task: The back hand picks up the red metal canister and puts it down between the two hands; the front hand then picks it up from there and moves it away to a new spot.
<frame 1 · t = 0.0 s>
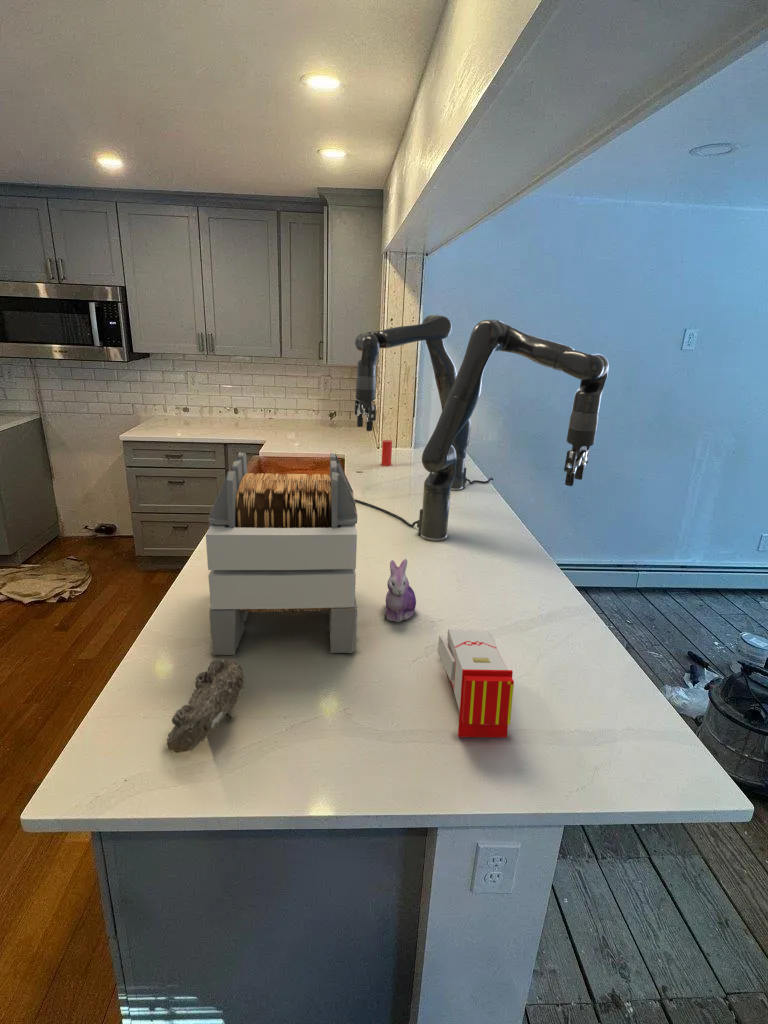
front hand: (573, 482, 165), 29 cm above the counter, tool pointing down, fingers open, 8 cm apart
back hand: (364, 428, 225), 29 cm above the counter, tool pointing down, fingers open, 8 cm apart
figurine: (399, 614, 147), on the counter
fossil: (212, 717, 108), on the counter
toy: (469, 691, 119), on the counter
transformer: (288, 617, 143), on the counter
canister: (386, 464, 287), on the counter
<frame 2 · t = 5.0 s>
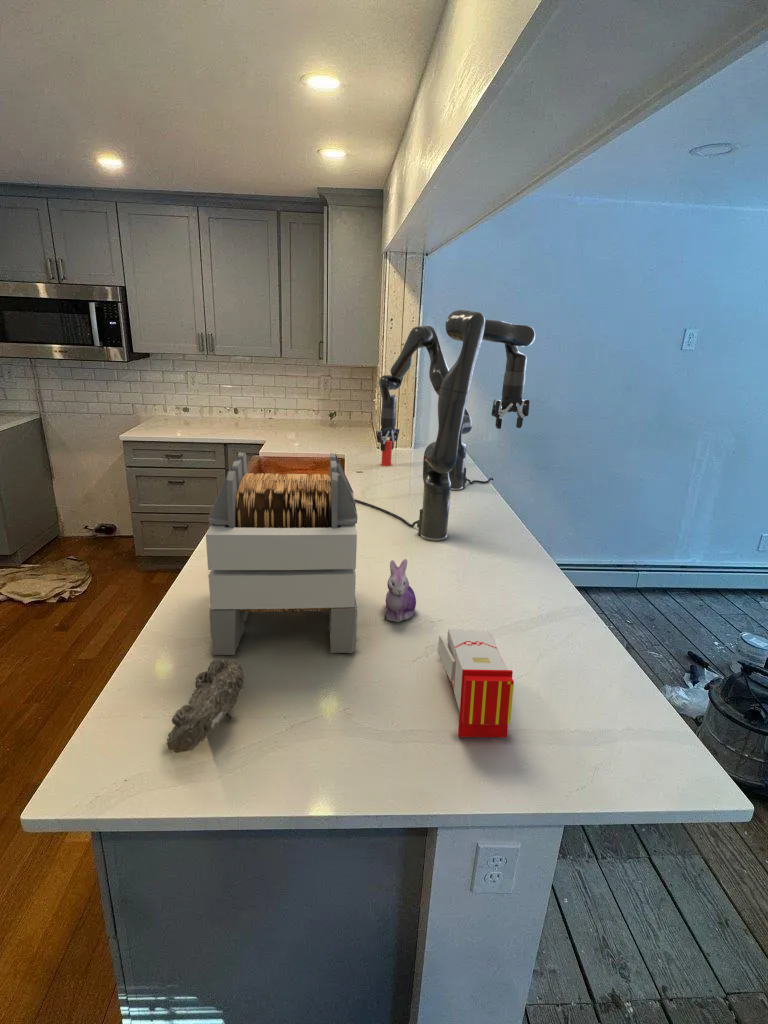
front hand: (508, 428, 209), 35 cm above the counter, tool pointing down, fingers open, 8 cm apart
back hand: (386, 450, 285), 8 cm above the counter, tool pointing down, fingers closed on canister, 5 cm apart
canister: (386, 464, 287), on the counter, touching back hand
everything else where it was.
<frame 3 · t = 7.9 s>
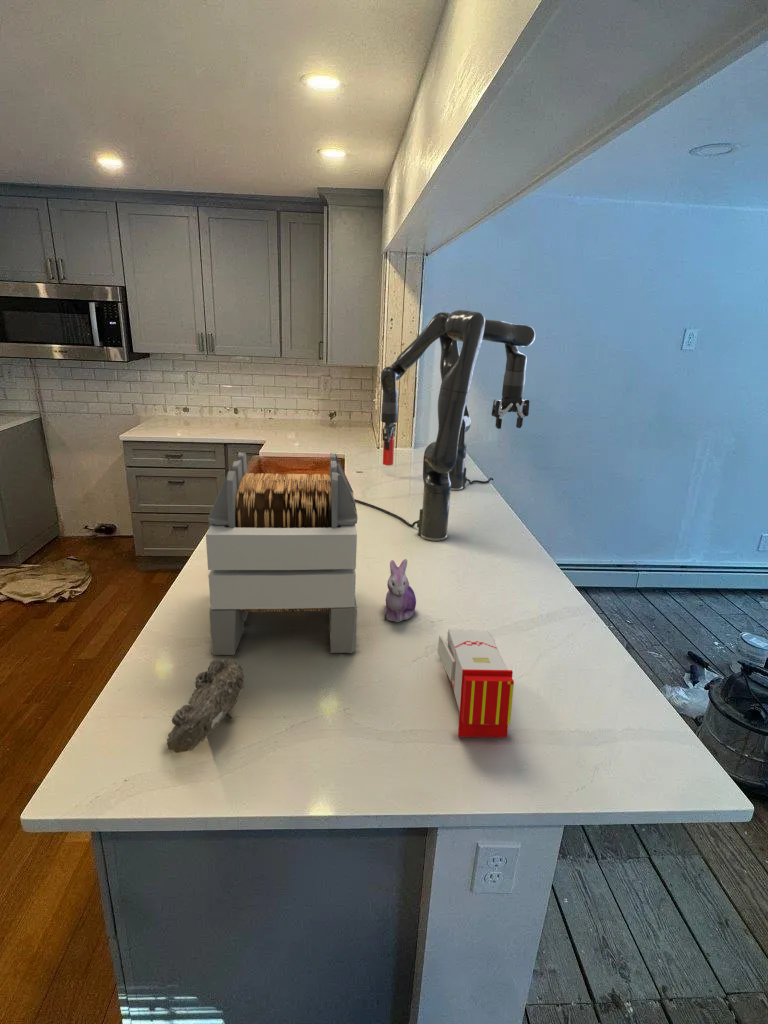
front hand: (508, 428, 209), 35 cm above the counter, tool pointing down, fingers open, 8 cm apart
back hand: (388, 448, 262), 14 cm above the counter, tool pointing down, fingers closed on canister, 5 cm apart
canister: (387, 464, 264), point 6 cm above the counter, touching back hand
everything else where it was.
when the back hand's fingers open (9 cm above the counter, at t = 11.2 s): canister drops 1 cm, on the counter.
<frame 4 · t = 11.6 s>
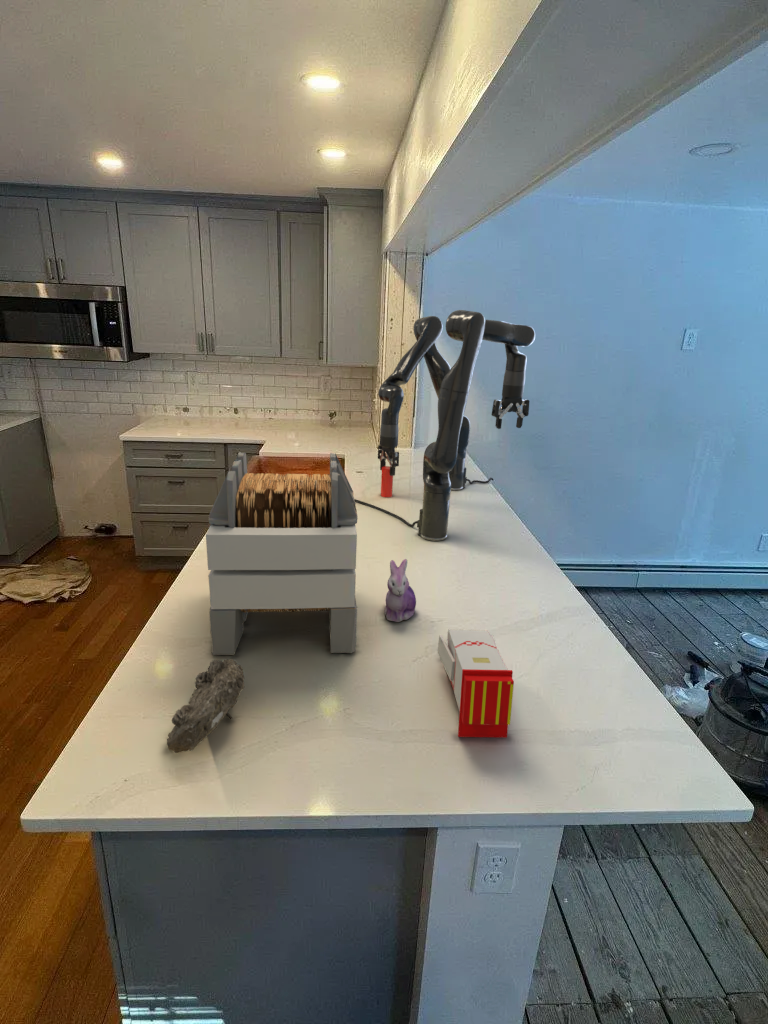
front hand: (508, 428, 209), 35 cm above the counter, tool pointing down, fingers open, 8 cm apart
back hand: (387, 472, 237), 10 cm above the counter, tool pointing down, fingers open, 8 cm apart
canister: (386, 495, 240), on the counter
everything else where it was.
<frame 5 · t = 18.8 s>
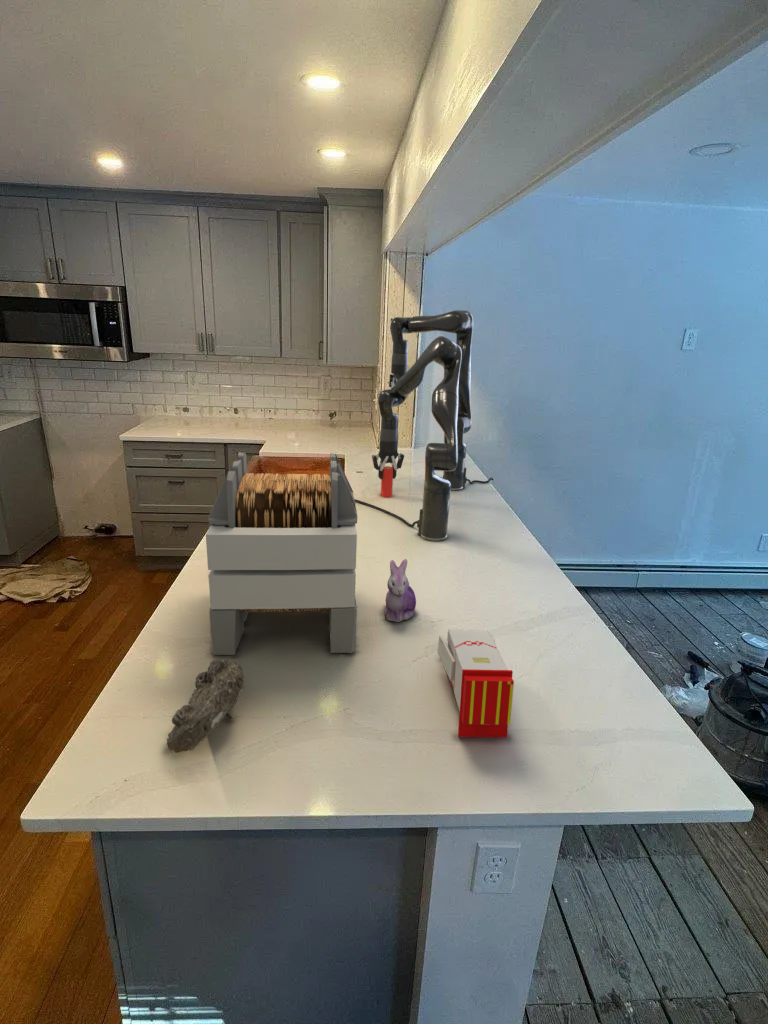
front hand: (387, 478, 237), 8 cm above the counter, tool pointing down, fingers closed on canister, 5 cm apart
back hand: (397, 398, 266), 35 cm above the counter, tool pointing down, fingers open, 8 cm apart
canister: (386, 495, 240), on the counter, touching front hand
everything else where it was.
when the front hand's fingers open (9 cm above the counter, at t = 24.6 s): canister drops 1 cm, on the counter.
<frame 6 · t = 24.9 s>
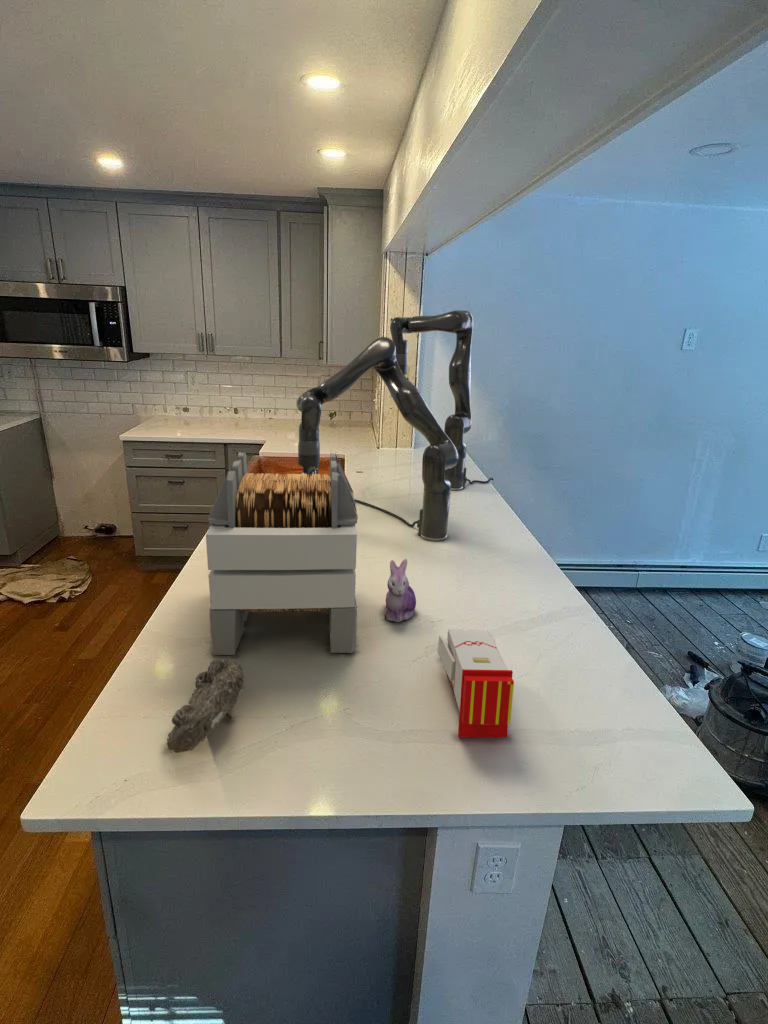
front hand: (309, 496, 205), 10 cm above the counter, tool pointing down, fingers open, 7 cm apart
back hand: (397, 398, 266), 35 cm above the counter, tool pointing down, fingers open, 8 cm apart
canister: (309, 521, 208), on the counter
everything else where it was.
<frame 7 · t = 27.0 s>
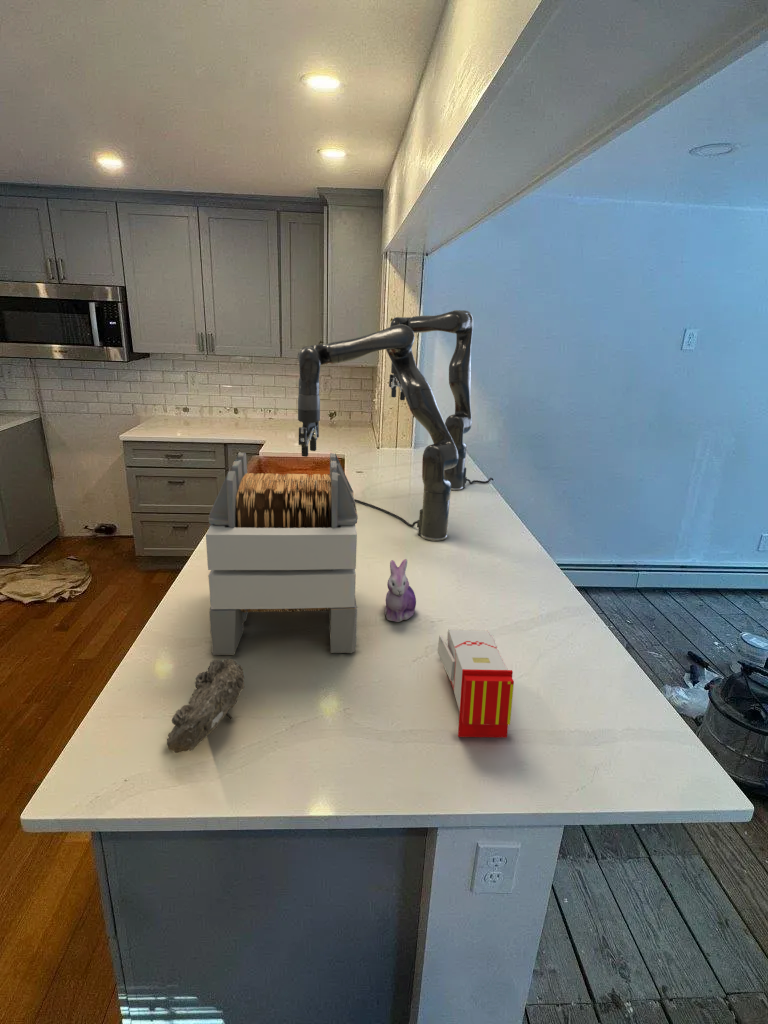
front hand: (309, 453, 199), 25 cm above the counter, tool pointing down, fingers open, 8 cm apart
back hand: (397, 398, 266), 35 cm above the counter, tool pointing down, fingers open, 8 cm apart
nothing on the counter moved.
at the end: canister inside the target area (0.1 cm from its centre), on the counter; canister tilted 0°; the two hands never held the canister at the same time; the front hand is holding nothing; the back hand is holding nothing; canister at rest at the end (0.0 cm/s) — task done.
